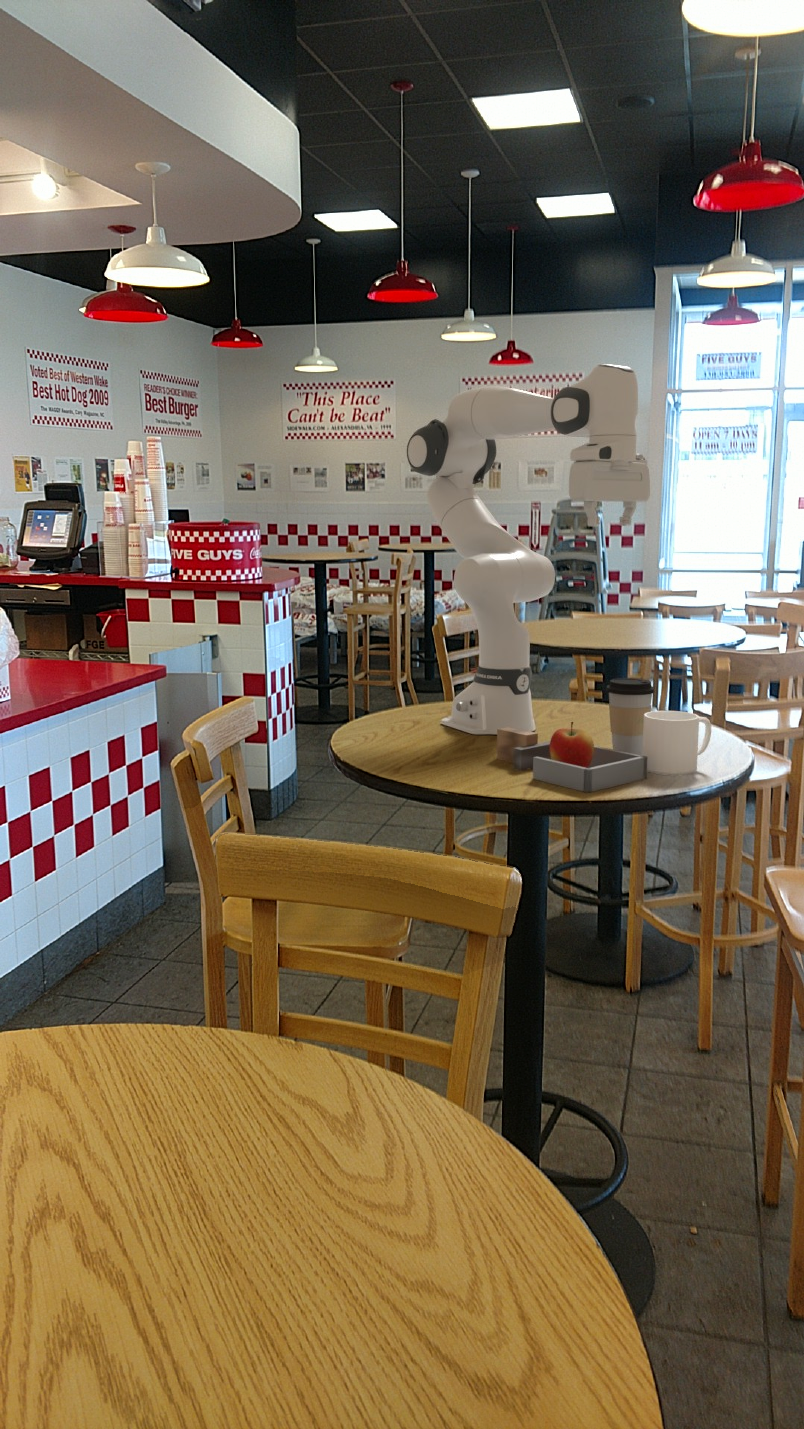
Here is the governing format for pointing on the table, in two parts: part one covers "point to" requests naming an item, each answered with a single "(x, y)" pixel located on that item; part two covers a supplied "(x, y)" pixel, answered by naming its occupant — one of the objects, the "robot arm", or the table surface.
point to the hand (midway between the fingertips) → (609, 526)
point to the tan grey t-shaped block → (520, 747)
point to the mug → (673, 741)
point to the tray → (593, 770)
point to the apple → (572, 747)
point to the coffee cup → (628, 712)
